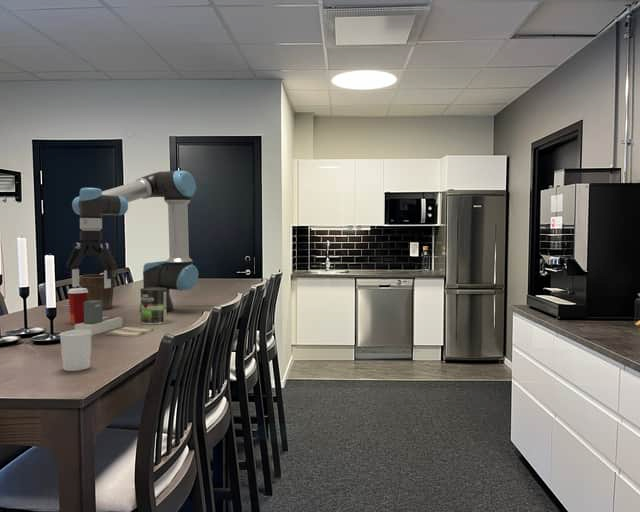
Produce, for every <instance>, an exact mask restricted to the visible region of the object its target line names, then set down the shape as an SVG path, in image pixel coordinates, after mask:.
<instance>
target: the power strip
mask: <svg viewBox="0 0 640 512" xmlns="http://www.w3.org/2000/svg"><path fill="white" fill-rule="evenodd" d="M73 325H74V329H73V330H90V331H91V332H92V333H91V337H92V336H95V335H98V334H101V333H106V332H110V331H113V330H117V329H120V328H123V317H119V316H118V317H117V315H109V316H105V317H102V322H100V323H96V324H84V323H80V324H73Z"/></svg>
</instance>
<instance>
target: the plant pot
mask: <svg viewBox="0 0 640 512" xmlns="http://www.w3.org/2000/svg"><path fill="white" fill-rule="evenodd" d="M116 277H117V275H116V274H113V273H112V279H111V288H104V273H93V274H82V275H79V279H80V285H81V286H82V287H81V288H87V291H88V292H87V301H92V300H99V301H102V311H106V310H109V309H112V308H113V299H114V286H115V283H116Z"/></svg>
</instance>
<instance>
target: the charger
mask: <svg viewBox="0 0 640 512" xmlns="http://www.w3.org/2000/svg"><path fill="white" fill-rule="evenodd" d="M102 318H103V310H102V301H99V300H92V301H86V302H84V324H96V323H100V322H102Z"/></svg>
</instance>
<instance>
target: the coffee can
mask: <svg viewBox="0 0 640 512" xmlns="http://www.w3.org/2000/svg"><path fill="white" fill-rule="evenodd" d="M139 290H140V305H141V312H140V324H142V325H149V326H151V325H154V326H155V325H161V324H162V323H163V324H166V323H167V322H168V321H167V312H166V290H167V288H162V287H149V288H144V287H142V288H140V289H139Z"/></svg>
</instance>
